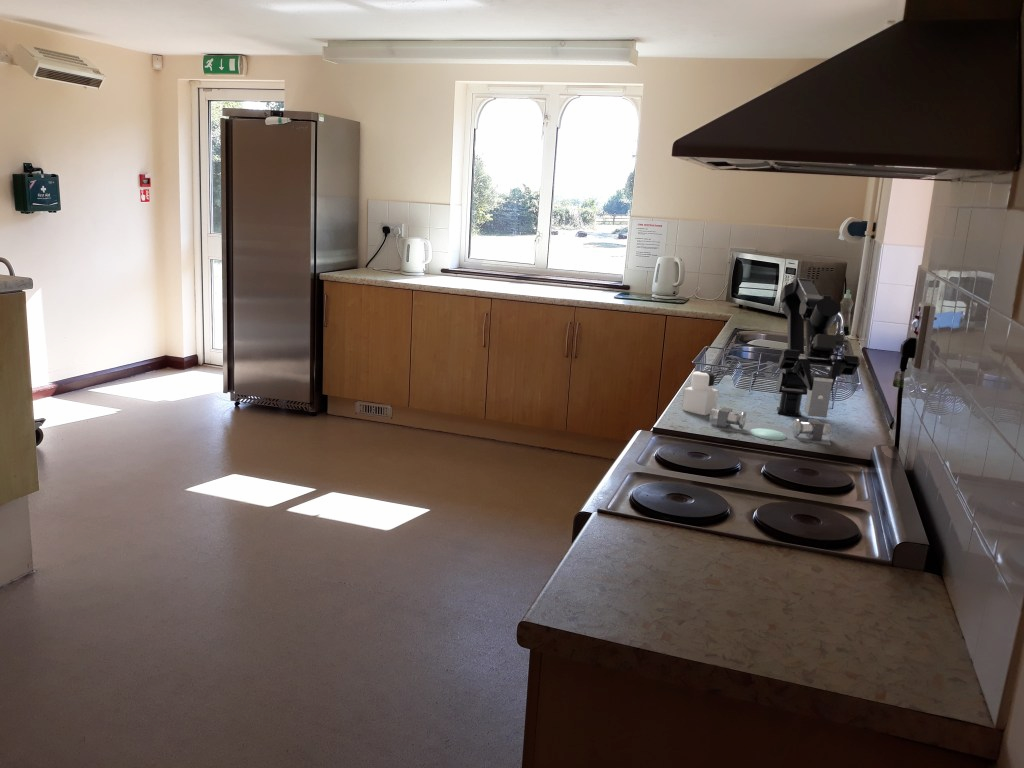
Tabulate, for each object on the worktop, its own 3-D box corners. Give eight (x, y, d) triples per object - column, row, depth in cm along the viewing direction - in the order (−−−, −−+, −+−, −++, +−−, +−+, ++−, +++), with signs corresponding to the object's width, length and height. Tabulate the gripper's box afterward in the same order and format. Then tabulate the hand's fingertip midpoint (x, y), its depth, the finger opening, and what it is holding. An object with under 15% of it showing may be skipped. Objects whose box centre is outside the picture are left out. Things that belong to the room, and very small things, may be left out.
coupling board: (708, 421, 221) (709, 416, 221) (825, 436, 214) (826, 432, 214) (707, 434, 208) (707, 429, 208) (831, 452, 201) (832, 447, 201)
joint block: (803, 410, 211) (809, 372, 208) (821, 412, 210) (828, 374, 208) (808, 416, 206) (814, 377, 203) (826, 418, 205) (833, 379, 203)
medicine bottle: (692, 409, 233) (698, 367, 230) (715, 414, 229) (721, 372, 226) (680, 413, 228) (686, 371, 225) (704, 418, 223) (709, 376, 221)
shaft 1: (744, 427, 213) (747, 410, 212) (740, 431, 210) (742, 414, 208) (712, 421, 217) (715, 404, 216) (707, 425, 214) (709, 407, 212)
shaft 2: (796, 439, 206) (799, 421, 205) (790, 434, 211) (793, 416, 210) (830, 441, 206) (833, 424, 205) (823, 436, 211) (826, 419, 210)
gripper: (788, 317, 207) (790, 369, 199) (864, 324, 205) (869, 377, 197) (777, 342, 217) (779, 392, 209) (850, 349, 215) (855, 400, 207)
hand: (820, 390), depth 205 cm, fingers closed on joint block, 4 cm apart
